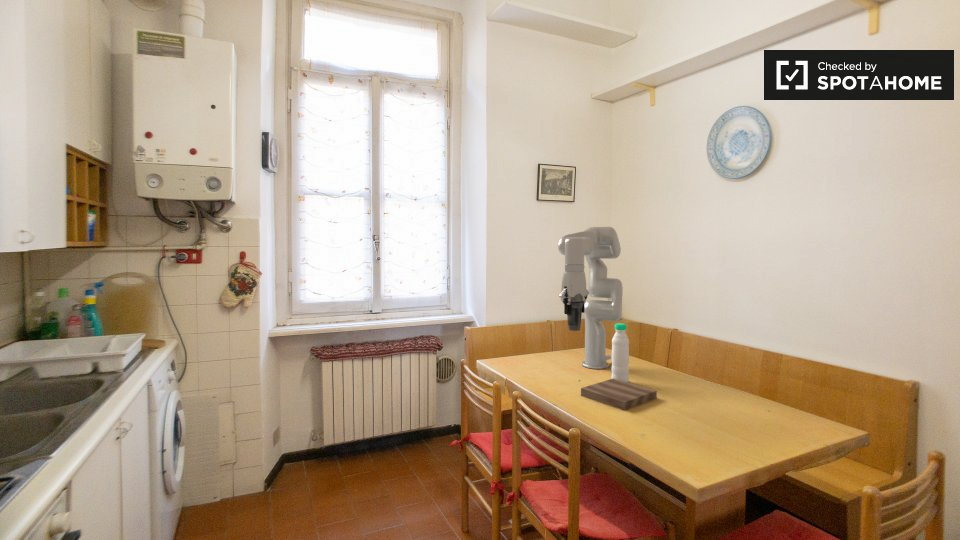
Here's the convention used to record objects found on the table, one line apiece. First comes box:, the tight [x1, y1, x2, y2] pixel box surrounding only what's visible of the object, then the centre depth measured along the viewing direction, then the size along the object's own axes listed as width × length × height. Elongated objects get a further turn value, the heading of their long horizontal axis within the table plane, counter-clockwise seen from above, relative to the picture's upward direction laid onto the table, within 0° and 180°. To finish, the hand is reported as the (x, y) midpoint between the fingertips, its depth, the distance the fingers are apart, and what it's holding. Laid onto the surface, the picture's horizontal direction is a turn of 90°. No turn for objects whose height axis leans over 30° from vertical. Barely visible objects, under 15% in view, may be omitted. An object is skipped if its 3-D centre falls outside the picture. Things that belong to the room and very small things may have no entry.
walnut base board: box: [580, 378, 658, 411], centre depth 178 cm, size 20×20×3 cm
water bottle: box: [610, 322, 630, 383], centre depth 196 cm, size 7×7×25 cm
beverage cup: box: [566, 294, 584, 332], centre depth 184 cm, size 7×7×20 cm
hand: (574, 313), depth 185 cm, fingers closed on beverage cup, 6 cm apart
